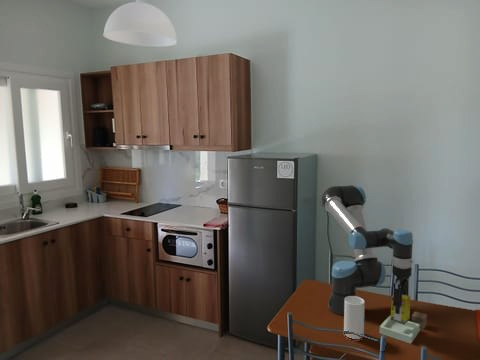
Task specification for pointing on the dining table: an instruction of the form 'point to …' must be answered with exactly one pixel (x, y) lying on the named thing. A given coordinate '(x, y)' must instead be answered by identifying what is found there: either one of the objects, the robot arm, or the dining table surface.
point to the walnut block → (420, 319)
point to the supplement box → (405, 309)
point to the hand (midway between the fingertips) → (400, 316)
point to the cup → (354, 316)
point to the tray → (400, 330)
